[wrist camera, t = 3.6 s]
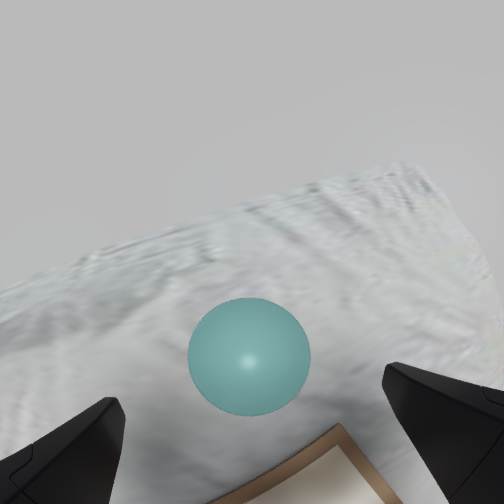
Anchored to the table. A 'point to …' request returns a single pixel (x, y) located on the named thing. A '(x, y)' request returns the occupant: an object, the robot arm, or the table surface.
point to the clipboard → (319, 477)
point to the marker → (249, 356)
